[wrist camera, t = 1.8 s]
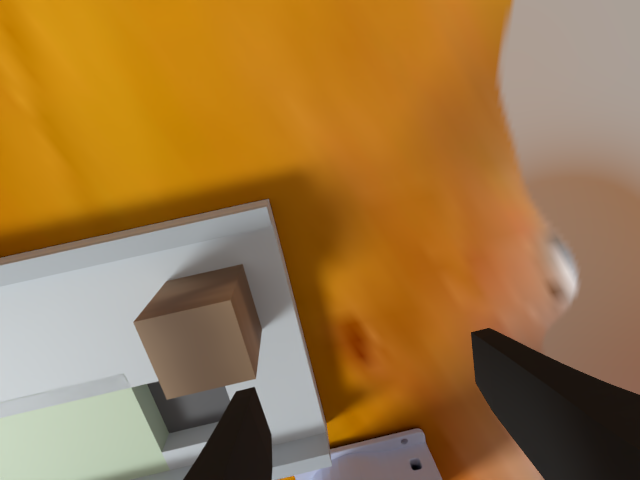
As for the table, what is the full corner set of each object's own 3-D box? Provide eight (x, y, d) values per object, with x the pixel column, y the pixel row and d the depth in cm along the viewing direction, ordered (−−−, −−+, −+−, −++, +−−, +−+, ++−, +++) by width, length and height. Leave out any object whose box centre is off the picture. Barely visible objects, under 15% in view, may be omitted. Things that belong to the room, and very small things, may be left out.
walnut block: (242, 264, 18) (230, 300, 14) (262, 329, 19) (256, 378, 15) (166, 280, 18) (133, 322, 14) (191, 345, 19) (167, 399, 15)
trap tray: (268, 198, 18) (265, 211, 15) (326, 424, 23) (332, 465, 20) (-184, 298, 18) (-277, 331, 15) (-25, 508, 23) (-71, 564, 20)
